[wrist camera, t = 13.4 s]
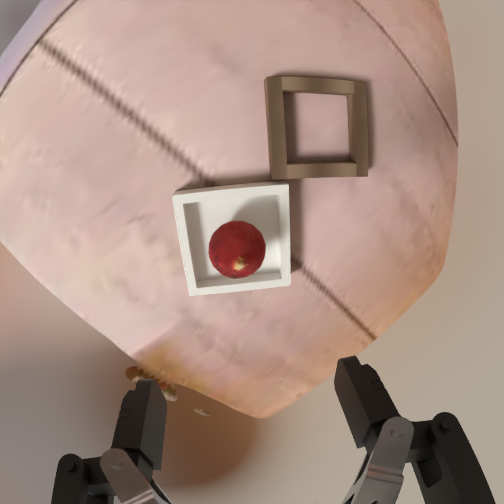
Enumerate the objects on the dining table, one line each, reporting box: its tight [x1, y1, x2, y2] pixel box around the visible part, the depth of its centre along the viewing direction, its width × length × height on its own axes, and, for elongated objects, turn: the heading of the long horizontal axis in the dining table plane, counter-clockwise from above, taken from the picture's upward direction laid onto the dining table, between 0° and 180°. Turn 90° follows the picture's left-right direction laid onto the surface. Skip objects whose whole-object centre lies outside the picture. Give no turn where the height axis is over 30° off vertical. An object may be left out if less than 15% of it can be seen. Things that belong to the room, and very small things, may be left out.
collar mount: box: [264, 77, 368, 180], centre depth 27 cm, size 11×11×2 cm
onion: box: [208, 221, 266, 279], centre depth 28 cm, size 6×6×8 cm
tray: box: [172, 181, 290, 296], centre depth 31 cm, size 12×12×2 cm
